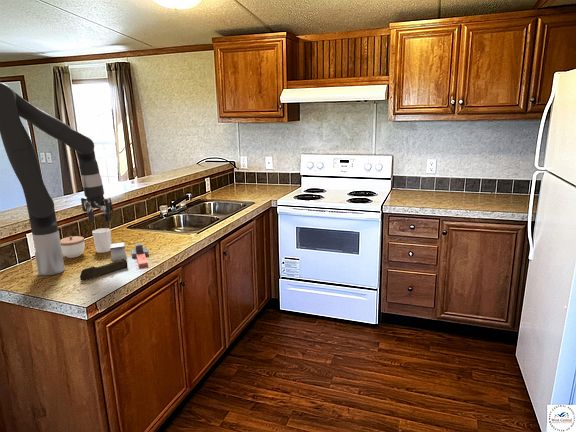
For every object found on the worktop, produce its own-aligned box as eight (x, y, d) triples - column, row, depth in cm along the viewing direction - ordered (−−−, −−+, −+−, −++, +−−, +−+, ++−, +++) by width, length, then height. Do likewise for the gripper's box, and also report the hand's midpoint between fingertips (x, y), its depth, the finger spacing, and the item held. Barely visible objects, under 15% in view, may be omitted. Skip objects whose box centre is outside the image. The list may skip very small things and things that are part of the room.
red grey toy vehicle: (134, 268, 168) (133, 257, 167) (131, 253, 187) (130, 243, 186) (152, 265, 171) (151, 254, 170) (147, 251, 190) (145, 241, 188)
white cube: (112, 260, 178) (110, 248, 176) (111, 256, 183) (109, 244, 181) (126, 258, 180) (124, 246, 179) (125, 254, 185) (124, 242, 184)
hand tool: (124, 266, 172) (122, 256, 171) (128, 268, 169) (127, 258, 168) (78, 280, 158) (76, 269, 157) (82, 282, 156) (80, 271, 155)
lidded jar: (82, 258, 181) (79, 238, 179) (56, 260, 179) (53, 240, 177) (89, 250, 191) (86, 232, 189) (65, 252, 190) (62, 233, 187)
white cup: (109, 246, 197) (106, 227, 194) (115, 250, 191) (113, 230, 189) (92, 250, 192) (89, 230, 189) (98, 254, 186) (95, 234, 184)
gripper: (72, 186, 166) (80, 223, 171) (99, 186, 162) (107, 224, 166) (86, 182, 173) (93, 218, 178) (112, 182, 168) (119, 219, 173)
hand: (100, 221), depth 172 cm, fingers open, 8 cm apart
